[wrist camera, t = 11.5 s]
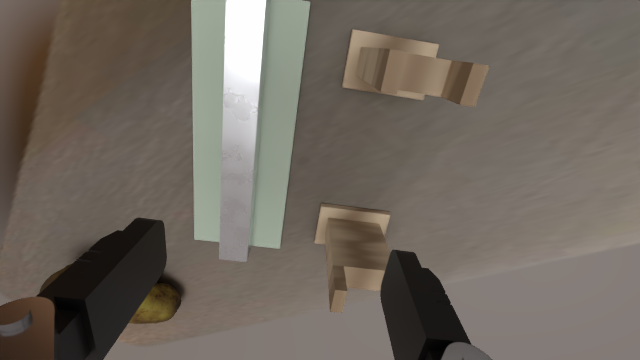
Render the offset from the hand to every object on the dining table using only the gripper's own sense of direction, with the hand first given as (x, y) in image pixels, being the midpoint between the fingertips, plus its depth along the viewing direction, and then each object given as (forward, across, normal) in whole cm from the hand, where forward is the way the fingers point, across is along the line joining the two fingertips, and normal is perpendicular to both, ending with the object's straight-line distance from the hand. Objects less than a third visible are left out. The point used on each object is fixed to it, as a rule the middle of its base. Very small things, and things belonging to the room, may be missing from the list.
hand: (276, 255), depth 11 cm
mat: (+22, +6, +3) cm, 23 cm away
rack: (+22, -7, +3) cm, 23 cm away
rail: (+21, +6, +3) cm, 22 cm away
